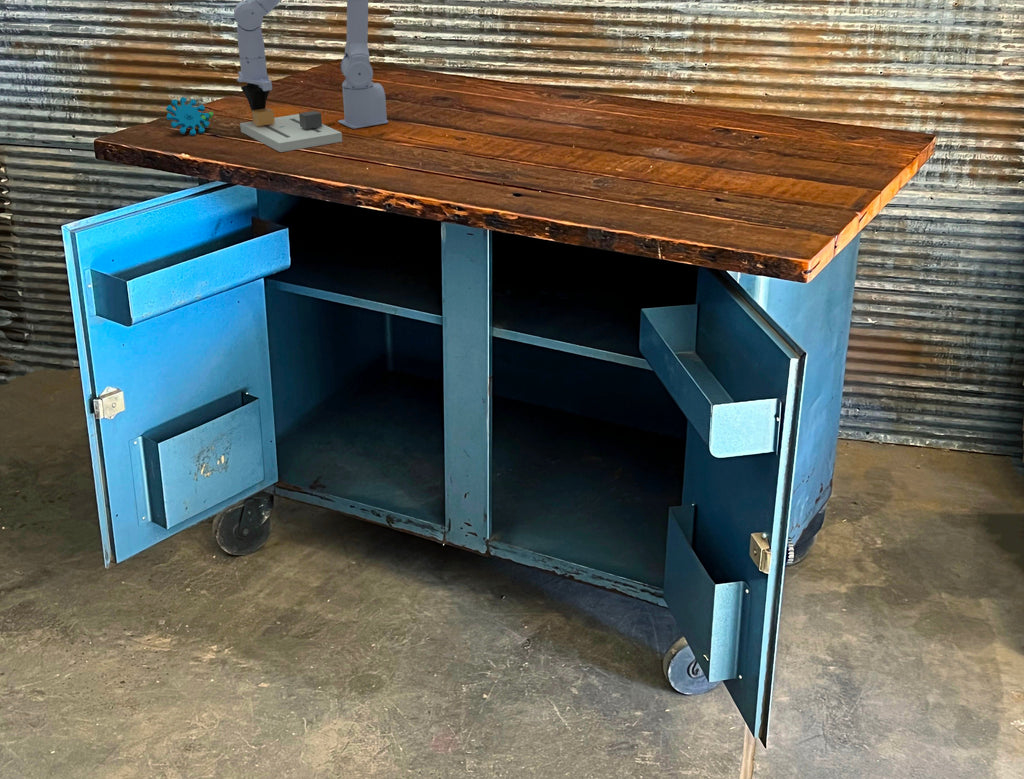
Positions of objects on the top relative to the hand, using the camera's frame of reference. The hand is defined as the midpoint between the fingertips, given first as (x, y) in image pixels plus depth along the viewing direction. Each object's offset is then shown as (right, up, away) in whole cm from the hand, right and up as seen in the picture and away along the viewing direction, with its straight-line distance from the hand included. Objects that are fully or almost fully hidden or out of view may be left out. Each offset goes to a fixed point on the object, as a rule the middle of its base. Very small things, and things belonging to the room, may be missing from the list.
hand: (258, 116), depth 284 cm
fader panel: (+8, -5, -3) cm, 10 cm away
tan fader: (+2, -2, -2) cm, 3 cm away
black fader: (+13, -3, -5) cm, 14 cm away
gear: (-16, -3, +2) cm, 16 cm away
